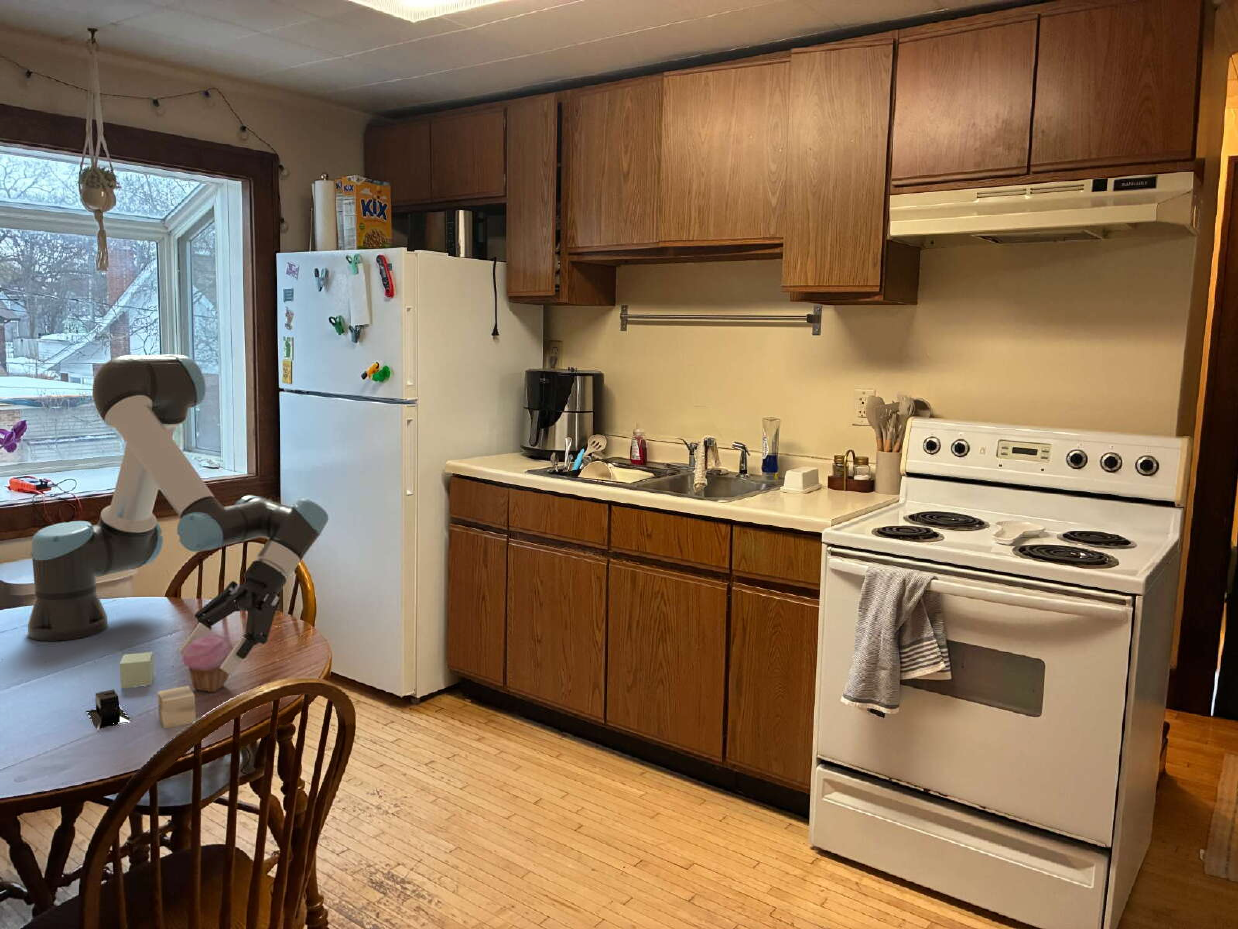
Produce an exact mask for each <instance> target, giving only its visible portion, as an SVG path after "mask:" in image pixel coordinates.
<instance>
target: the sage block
mask: <svg viewBox="0 0 1238 929" xmlns="http://www.w3.org/2000/svg"><path fill="white" fill-rule="evenodd" d="M154 668H155V667H154V652H153V651H151V652H139V653H136V652H135V653H128V654H127V653H126V654H123V656H122V658H121V660H120V661H119V672H120V675H119V676H120V687H121V688H123V689H129V688H128V687H133V688H136V687H135V686H141V685H142V686H143V685H151V686H152V684H151V683H153V681H152V680H154V678H155V669H154ZM153 677H154V678H153ZM121 688H120V689H121Z"/></svg>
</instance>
